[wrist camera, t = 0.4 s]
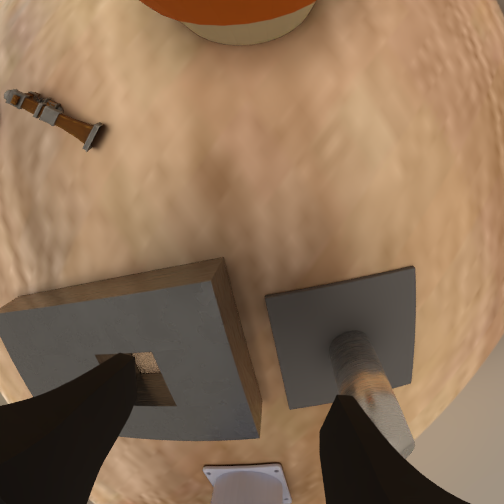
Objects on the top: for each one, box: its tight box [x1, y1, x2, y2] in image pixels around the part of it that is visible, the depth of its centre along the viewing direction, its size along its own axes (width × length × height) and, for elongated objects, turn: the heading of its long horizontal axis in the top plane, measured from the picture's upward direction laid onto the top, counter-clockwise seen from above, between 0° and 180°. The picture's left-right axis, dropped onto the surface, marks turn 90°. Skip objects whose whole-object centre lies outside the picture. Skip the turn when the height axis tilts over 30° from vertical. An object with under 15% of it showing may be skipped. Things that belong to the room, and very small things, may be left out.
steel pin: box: [329, 330, 415, 459], centre depth 15 cm, size 3×3×10 cm
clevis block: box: [0, 257, 262, 441], centre depth 20 cm, size 12×20×4 cm, turn 102°
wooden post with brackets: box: [4, 89, 104, 152], centre depth 16 cm, size 2×8×4 cm, turn 56°
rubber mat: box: [265, 266, 416, 410], centre depth 20 cm, size 10×10×1 cm
